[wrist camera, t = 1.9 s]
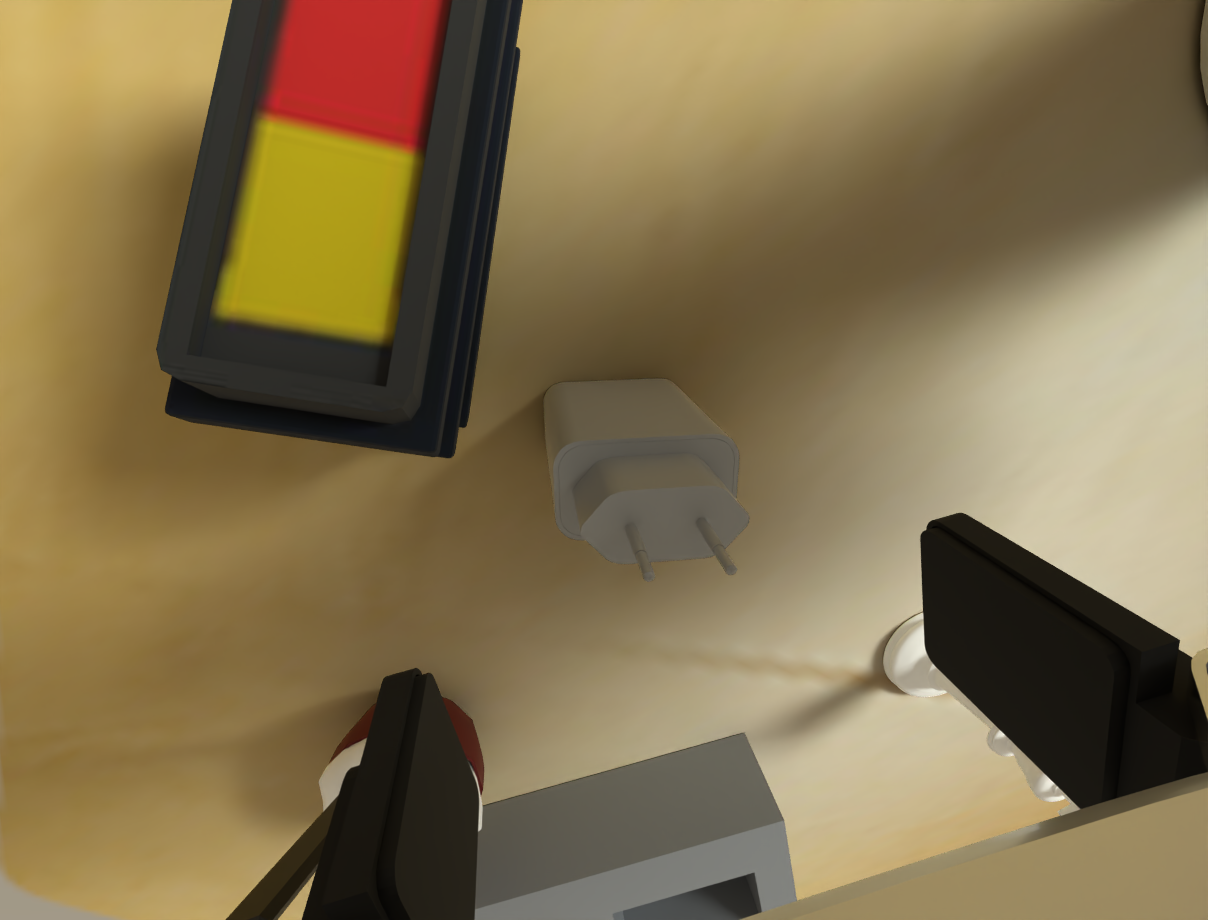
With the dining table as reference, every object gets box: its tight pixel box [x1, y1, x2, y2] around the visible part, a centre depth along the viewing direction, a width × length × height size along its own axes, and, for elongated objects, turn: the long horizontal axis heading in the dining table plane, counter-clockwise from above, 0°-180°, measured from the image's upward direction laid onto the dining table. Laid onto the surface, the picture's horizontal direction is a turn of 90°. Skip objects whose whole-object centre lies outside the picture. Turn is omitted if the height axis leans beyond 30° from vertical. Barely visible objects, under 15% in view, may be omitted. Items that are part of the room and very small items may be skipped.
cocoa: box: [226, 697, 484, 920], centre depth 23 cm, size 10×6×12 cm
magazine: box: [156, 0, 523, 458], centre depth 16 cm, size 4×13×15 cm, turn 169°
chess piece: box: [883, 612, 1080, 816], centre depth 26 cm, size 5×5×10 cm
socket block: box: [475, 733, 797, 920], centre depth 30 cm, size 15×10×6 cm, turn 103°
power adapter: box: [543, 378, 749, 582], centre depth 19 cm, size 3×5×12 cm, turn 91°
